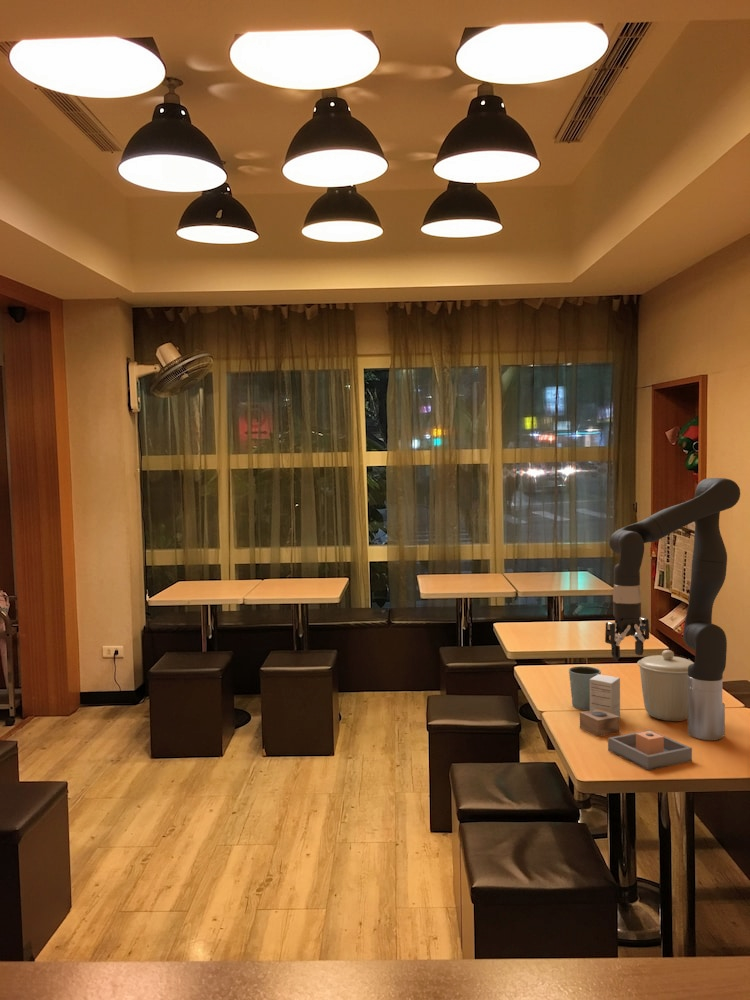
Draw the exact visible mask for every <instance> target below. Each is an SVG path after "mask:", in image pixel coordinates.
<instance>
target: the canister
mask: <svg viewBox="0 0 750 1000" xmlns="http://www.w3.org/2000/svg"><path fill="white" fill-rule="evenodd" d="M636 664H637V666H638V667H639V673H640V681H641V682H640V683H641V690H642V698H643V704H644V709H645V711H646V713H647V714H648V716H650V717H652V718H655V719H656V720H657V719H658V720H662V721H666V722H681V721H684V720H685V721H686V720H688V666H689V665H691V664H694V662H693V661H692V660H690V659H687V658H684V657H681V656H675V652H674V651H672V650H670V649H664V650H663V651H662V652H661V654H659V655H658V654H656V655H648V656H645V657H643V658H641V659H639V660H638V661H637V663H636Z"/></svg>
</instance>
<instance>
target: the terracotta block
mask: <svg viewBox="0 0 750 1000" xmlns="http://www.w3.org/2000/svg"><path fill="white" fill-rule="evenodd" d="M645 731H646V732H641V731H640V732H641V733H636V732H635V733H636V749H637V750H639V751H641V752H643V753H645V754H647V755H652V754H657V753H661V752H664V737H663V736H664V735H663V736H661V735H662V734H660V733H658V734H656V733H657V732H656V733H654V732H655V731H654V732H652V731H653V730H651V731H647V730H645ZM659 734H660V735H659Z"/></svg>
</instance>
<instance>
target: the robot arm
mask: <svg viewBox="0 0 750 1000" xmlns="http://www.w3.org/2000/svg"><path fill="white" fill-rule="evenodd" d="M740 497H741V489H740V487H739V484H737V482H735V481H734V480H732V479H728V478H725V477H723V478H721V477H720V478H719V477H713V478H712V477H708V478H704V479H702V480H701V481H699V483H698V484H697V486H696V488H695V493H694V498H691V499H689V500H687V501H684V502H682V503H678V504H675V505H672V506H669V507H666V508H663V509H661V510H659V511H657V512H655V513H653V514H652V515H650V516H648V517H646V518H645V519H643V520H640V521H638V522H634V523H632V524H629V525H627V526H624V527H621V528H619V529H617V530H615V532H613V533H612V534H611V536H610V537H609V540H608V541H609V542H608V544H609V547H610V549H611V550H612V551H613V553H616V554H619V555H620V558H619V563H616V564H615V565H614V568H613V590H612V602H613V603H612V605H613V606H612V607H613V609H612V611H613V617H614V619H615V620H614V621H613V622H611V621H606V622H605V634H604V637H605V638H604V639H605V640H604V642H605V644H609V645H610V646H611V656H612V658H613V659H615V660H619V659H621V646H620V644H621V642H622V641H623V640H625V638H626V637H630V636H632V637H633V638H634V640H635V642H634V654H635V655H636V656H637V655H638V656H643V655H644V654H643V653H644V642H645V641H646V640H649V639H650V626H649V625H650V624H649V623H650V622H649V619H648V618H646V617H645V618H644V617H641V616H642V590H641V573H640V571H641V570H640V569H641V566H642V563H643V557H644V553H645V544H647V543H655V542H657V541H659V540H661V539H663V538H666V536H668V535H671V534H672V533H674V532H676V531H678V530H680V529H682V528H683V527H685V526H688V525H690V524H692V523H694V538H693V539H694V540H693V551H692V559H691V560H692V561H691V568H690V569H691V570H690V571H691V573H690V574H691V575H690V586H689V595H688V605H687V610H686V615H685V621H684V625H683V630H682V631H683V635H682V637H683V642H684V644H685V645H686V646H687V647H688V648H689V649H691V650H693V651H695V652H694V662H693V663H694V664H691V665H689V666H688V718H687V734H688V735H689V737H692V738H694V739H699V740H702V741H703V740H704V741H719V740H721V739H723V737H724V736H723V735H726V734H725V733H726V731H725V730H726V725H725V724H726V712H725V711H726V704H725V703H724V702H723V674H724V671H725V669H726V666H727V665H726V664H727V651H728V649H727V647H728V645H727V644H728V641H727V636H726V633H725V631H724V629H722V627H721V626H719V625H718V624H714V623H713V621H712V617H713V608H714V603H715V600H716V598H717V596H718V595H719V594H720V592H721V589H722V587H723V586H724V584H725V580H726V576H727V565H728V554H727V553H728V552H727V549H726V545H725V542H724V539H723V537H722V534H721V530H720V516H721V515H720V513H721V512H723V511H726V510H729V509H731V508H733V507H735V506H736V505H737V504H738V502H739V501H740ZM720 738H721V739H720ZM718 739H719V740H718Z"/></svg>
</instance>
